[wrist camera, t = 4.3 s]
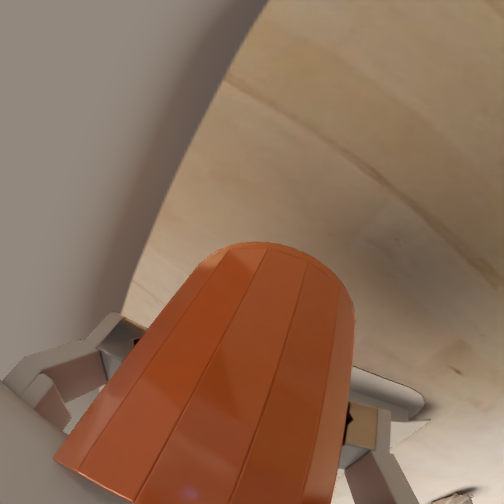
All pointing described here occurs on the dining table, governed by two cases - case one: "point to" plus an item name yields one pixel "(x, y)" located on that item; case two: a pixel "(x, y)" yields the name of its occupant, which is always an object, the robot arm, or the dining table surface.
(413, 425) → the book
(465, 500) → the cream rounded piece
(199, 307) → the cup
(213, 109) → the dining table surface
